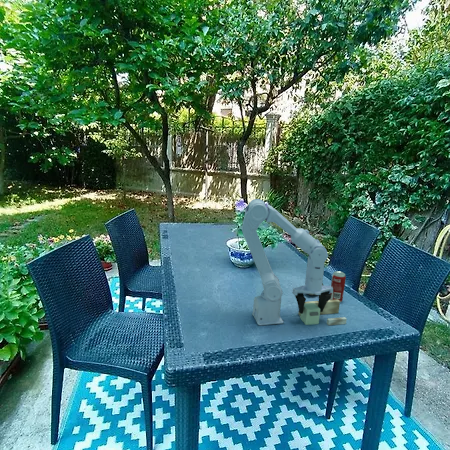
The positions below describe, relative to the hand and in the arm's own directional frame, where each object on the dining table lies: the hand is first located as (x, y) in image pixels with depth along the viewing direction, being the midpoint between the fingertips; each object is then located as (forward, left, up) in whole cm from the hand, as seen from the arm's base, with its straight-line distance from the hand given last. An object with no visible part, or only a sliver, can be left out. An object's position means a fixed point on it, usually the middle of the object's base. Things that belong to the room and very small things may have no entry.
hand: (310, 311), depth 106 cm
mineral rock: (+13, +23, -4) cm, 26 cm away
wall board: (+6, +1, -4) cm, 7 cm away
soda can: (+19, +14, -4) cm, 24 cm away
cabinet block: (0, 0, -4) cm, 4 cm away
